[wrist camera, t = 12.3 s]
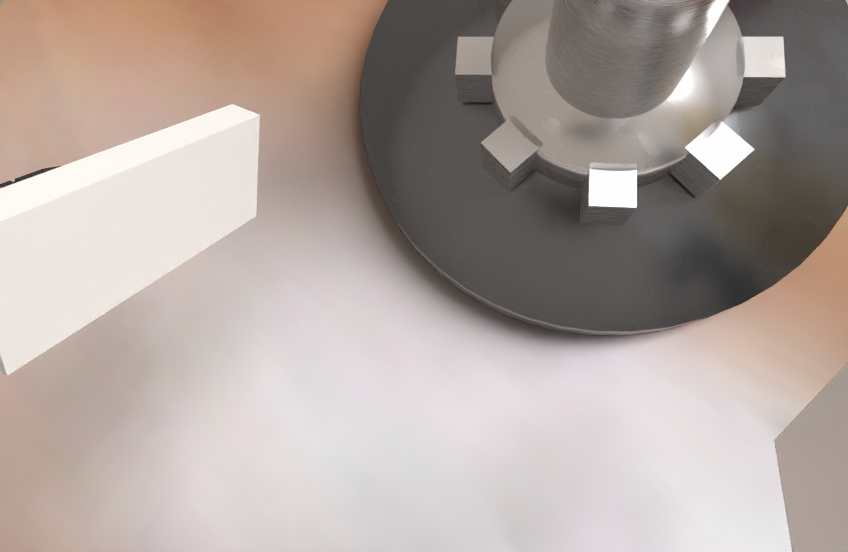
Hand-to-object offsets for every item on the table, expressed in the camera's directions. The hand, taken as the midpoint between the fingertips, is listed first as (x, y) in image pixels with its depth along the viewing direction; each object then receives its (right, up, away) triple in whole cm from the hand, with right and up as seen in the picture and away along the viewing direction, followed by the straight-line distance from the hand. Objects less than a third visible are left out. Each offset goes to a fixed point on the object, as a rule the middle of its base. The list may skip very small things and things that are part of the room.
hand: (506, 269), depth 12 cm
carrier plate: (+6, +7, +12) cm, 15 cm away
